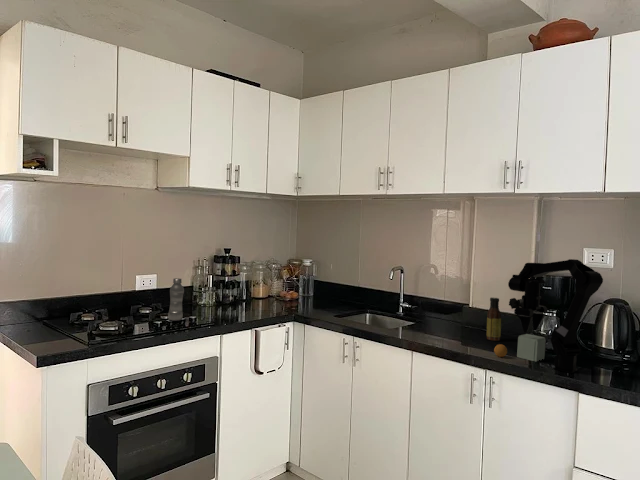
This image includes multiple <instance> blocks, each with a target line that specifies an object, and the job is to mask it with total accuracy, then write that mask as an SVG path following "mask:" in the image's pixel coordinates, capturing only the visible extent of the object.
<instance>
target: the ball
mask: <svg viewBox="0 0 640 480" xmlns="http://www.w3.org/2000/svg"><path fill="white" fill-rule="evenodd" d="M493 353H494V354H495V355H496V356H497V357H499V358H503V357H505V356H506V355H507V354H508V348H507V347H506V346H505V345H504V344H502V343H501V344H500V343H498V344H496V346H495V347H494V349H493Z"/></svg>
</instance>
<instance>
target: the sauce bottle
mask: <svg viewBox="0 0 640 480" xmlns="http://www.w3.org/2000/svg"><path fill="white" fill-rule="evenodd" d="M489 302H490V306H489V309H488V310H487V317H486V339H487V340H488V341H491V342H499V341H501V335H502V334H501V333H502V332H501V331H502V330H501V329H502V316H501V314H502V313H501V311H500V309H499V307H500V306H499V303H500V298H499V297H490V298H489Z"/></svg>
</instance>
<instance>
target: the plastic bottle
mask: <svg viewBox="0 0 640 480" xmlns="http://www.w3.org/2000/svg"><path fill="white" fill-rule="evenodd" d="M182 279H183V278H179V277H178V278H173V279H172V280H173V281H172V285H171V286H170V289H169V298H170V299H169V300H170V302H169V310H168V313H167V318H168V320H169V321H173V322H178V321H181V320H183V313H184V312H183V298H184V293H185V288H184V286H183V285H182Z"/></svg>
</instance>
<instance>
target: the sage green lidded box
mask: <svg viewBox="0 0 640 480" xmlns="http://www.w3.org/2000/svg"><path fill="white" fill-rule="evenodd" d="M546 341H547V339H546V337H544V336H540V335H534V334H530V333H525V334H521V335H518V337H517V348H516V349H517V350H516V351H517V352H516V357H517V358H518V359H523V360H527V361H532V362H537V363H538V362H540V361H543V360H545V355H546ZM542 359H543V360H542ZM539 360H540V361H539Z"/></svg>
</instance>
